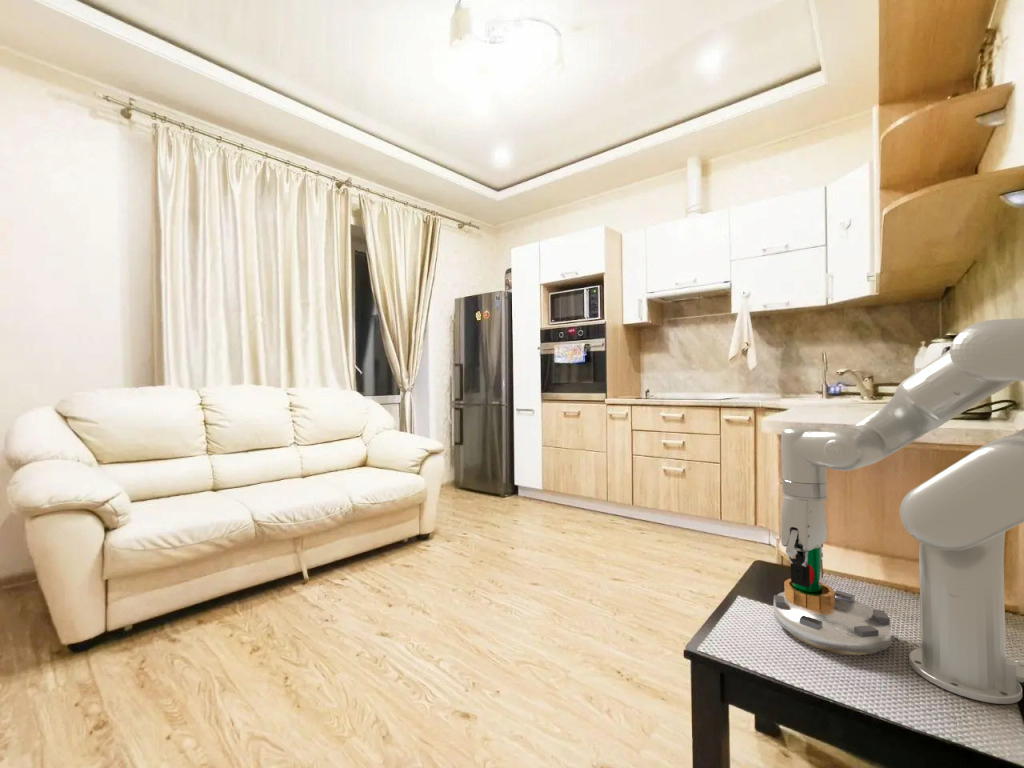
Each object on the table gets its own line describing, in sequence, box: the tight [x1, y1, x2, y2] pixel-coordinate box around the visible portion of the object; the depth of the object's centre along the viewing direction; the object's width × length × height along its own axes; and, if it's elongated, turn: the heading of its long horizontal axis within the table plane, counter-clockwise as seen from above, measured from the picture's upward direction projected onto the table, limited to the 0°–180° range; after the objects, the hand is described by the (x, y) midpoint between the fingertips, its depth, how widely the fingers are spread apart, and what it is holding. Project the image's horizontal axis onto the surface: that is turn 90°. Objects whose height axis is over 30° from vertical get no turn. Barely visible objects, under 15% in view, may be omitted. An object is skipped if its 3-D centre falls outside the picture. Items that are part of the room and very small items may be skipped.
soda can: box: [792, 545, 823, 595], centre depth 90 cm, size 5×5×12 cm
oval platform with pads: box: [773, 578, 892, 653], centre depth 85 cm, size 18×18×5 cm
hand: (807, 579), depth 90 cm, fingers closed on soda can, 5 cm apart
